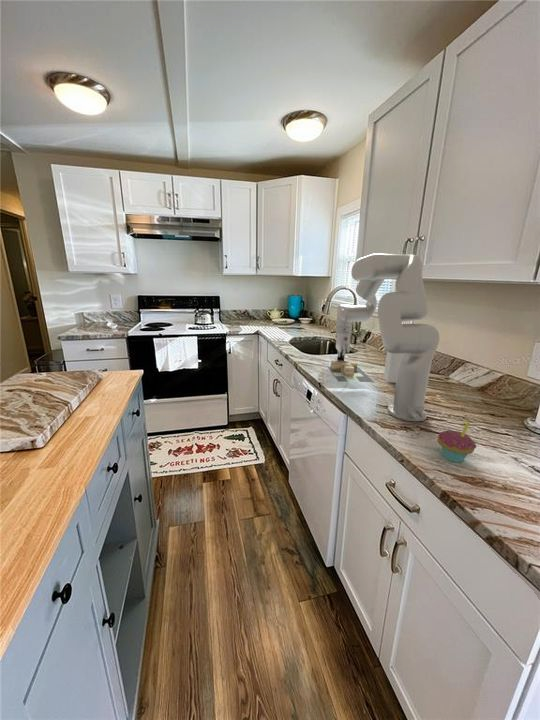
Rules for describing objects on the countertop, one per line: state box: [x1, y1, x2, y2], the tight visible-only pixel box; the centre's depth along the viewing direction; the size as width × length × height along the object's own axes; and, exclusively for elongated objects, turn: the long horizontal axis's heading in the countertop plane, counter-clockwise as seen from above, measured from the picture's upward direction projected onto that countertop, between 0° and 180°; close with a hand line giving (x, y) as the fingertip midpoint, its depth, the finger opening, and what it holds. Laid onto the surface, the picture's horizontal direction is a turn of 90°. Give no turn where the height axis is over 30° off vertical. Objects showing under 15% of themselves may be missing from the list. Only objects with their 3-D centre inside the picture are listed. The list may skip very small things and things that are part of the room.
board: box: [327, 366, 375, 383], centre depth 142 cm, size 22×16×1 cm
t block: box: [330, 360, 358, 376], centre depth 144 cm, size 12×12×4 cm
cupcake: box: [436, 419, 477, 463], centre depth 78 cm, size 9×8×12 cm
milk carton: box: [383, 350, 405, 384], centre depth 133 cm, size 7×7×19 cm
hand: (340, 364), depth 155 cm, fingers closed
